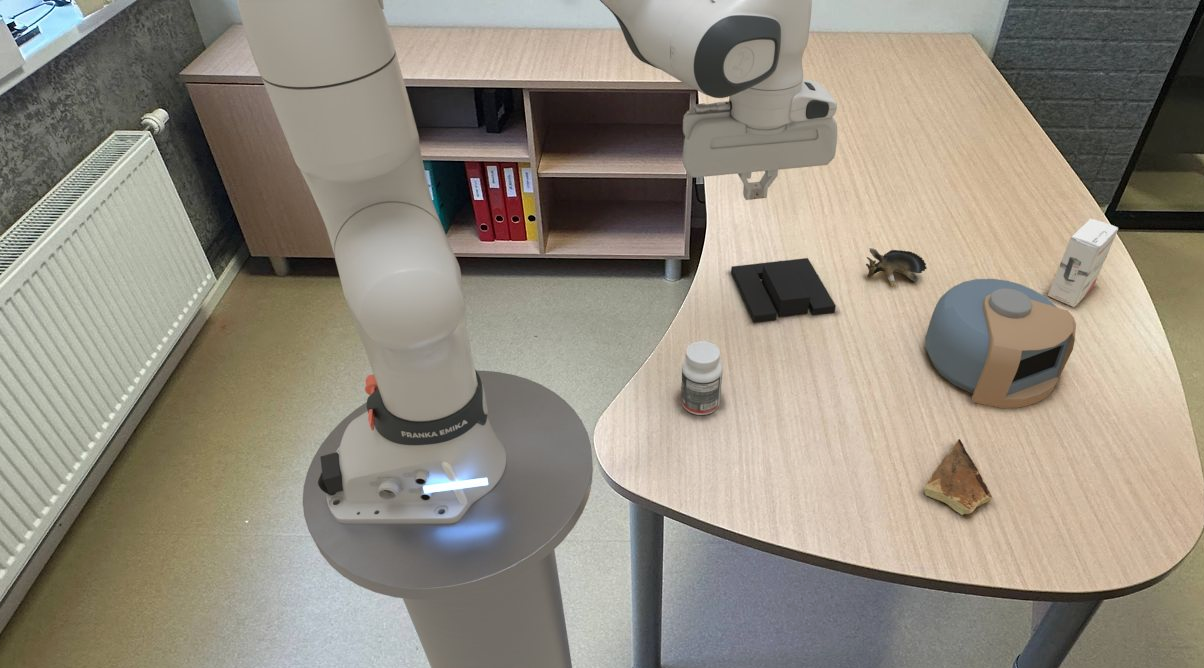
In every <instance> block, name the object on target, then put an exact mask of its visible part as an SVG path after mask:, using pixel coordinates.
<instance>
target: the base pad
mask: <svg viewBox="0 0 1204 668" xmlns="http://www.w3.org/2000/svg"><path fill="white" fill-rule="evenodd" d="M788 262H791V263H792V265H793V267H794V268H795V270H796V272H797V274H798V276H799V277H800V279H801V281H802V283H803V285H804V286H805V288H806V290H807V292H808V293H809V295H810V302H809V308H808V311H809V312H810V314H811V316H819V315H827V314H834V313H835V312H836V306H837V305H836V304H835V302H834V300H833V298H832V297H831V295H830V293H829V292H828V290H827V288H826V287H825V285H824V283H823V282H822V280H821V278H820V277H819V274H818V273H817V271H816V269H815V268H814V266H813V265H812V262H811V261H810V259H809V258H808V257H804V258H796V259H786V260H785V259H784V260H777V261H768V262H759V263H751V264H750V263H749V264H742V265H733V266H731V267H730V268H731V269H730V275H731V277H732V279H733V281H734V283H735V286H736V288H737V290H738V292H739V294H740V297H741V299H742V301H743V303H744V305H745V307H746V310H747V312H748V314H749V316H750V319H751V321H752V323H754V324H756V323H762V322H771V321H776V320H777V316H778V314H777V312H776V310H775V308H774V306H773V304H772V302H771V300H770V298H769V296H768V294H767V292H766V290H765V288H764V286H763V284H762V282H761V280H762V271H763V265H770V264H779V263H788Z"/></svg>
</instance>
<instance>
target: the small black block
mask: <svg viewBox="0 0 1204 668" xmlns="http://www.w3.org/2000/svg"><path fill="white" fill-rule="evenodd" d="M761 282H762V284H763V286H764V288H765V290H766V292H767V294H768V296H769V298H770V300H771V302H772V304H773V306H774V308H775V310H776V312H777V316H778V318H783V317H785V318H786V317H791V316H800V315H807V314H808V313H809V302H810V295H809V293H808V292H807V290H806V288H805V286H804V285H803V283H802V281H801V279H800V277H799V276H798V274H797V272H796V270H795V268H794V267H793V265H792V263H791V262H788V263H779V264H770V265H763V271H762V280H761Z"/></svg>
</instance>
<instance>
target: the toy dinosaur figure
mask: <svg viewBox="0 0 1204 668" xmlns="http://www.w3.org/2000/svg"><path fill="white" fill-rule="evenodd" d="M869 253H870V254H871V256H872V257H873V258H874V259H875V260H873V259H871V258H870V257H868V256H867V257H866V259H867V260H868V262H869V264H868V263H865V266H866V267H867V269H868V273H867V276H866V278H869V279H870V278H872V277H874V276H875V274H878V273H881V272H883V273H884V274H883V275H885V277H886V278H887V279H888V281H889V284H890V288H893V286H894V284H895V277H894V273H898V274H901V275H903V276H905V277H906V278H908V279H910V280H911V281H912V282H917V281H918V280H919V278H918V276H917V275H916V274H921V273H923V272H925V270H927V269H928V267H927V263H926V262H925V260H924V259H923V257H921V256H920V255H918V254H917V253H915V252H913V251H909V250H901V249H899V250H898V249H890V250H889V251H887V252H886V253H884V255H883V254H880V253H879V251H878V250H877V249H875V248H872V247H870V248H869ZM877 261H878V262H877Z"/></svg>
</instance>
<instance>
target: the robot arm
mask: <svg viewBox="0 0 1204 668" xmlns="http://www.w3.org/2000/svg"><path fill="white" fill-rule="evenodd" d="M599 1H600V3H602V4H603V5H604V6H605V7H606V8H607V9H608V10H609V11H610V12H611V14H612V15H613V16H614V17H615V19H616V21H617V23H618V25H619V27H620V29H621V31H622V34H623V37H624V39H625V42H626V44H627V46H628V49H630V51H631V53H632V54H633V56H635V57H636V58H637V59H638V60H639V61H641V62H642V63H644V64H646V65H647V66H648V65H649V66H651V67H653V68H655V69H658V70H661V71H663V72H664V73H665V74H667V75H669V76H671V77H673V78H674V79H676V80H678V81H680V82H681V83H683V84H685V85H687V86H689V87H690V88H691V89H694V90H696V91H698V92H699V93H701V94H703V95H706V96H709V97H711V98H715V99H725V98H728V100H727V101H717V102H712V103H697V104H695V105H694V107H692V108H690V109H688V110H687V111H686V112H685V114H683V118H682V134H683V136H684V140H683V147H682V156H681V157H682V158H681V159H682V160H681V161H682V165H683V167H684V170H685V171H686V173H687V174H688V175H689V176H690V177H691V178H694V179H695V178H705V177H715V176H725V175H736V174H737V175H738V177H739V179H740V180H741V182H742V184H743V190H742V195H743V197H744V199H745V201H750V200H751V201H752V200H758V199H759V200H760V199H767V198H768V191H769V188H770V187H771V185H772V184H773V183H774V182H775V180H776V179H777V178H778V174H779V170H790V169H791V170H792V169H798V168H799V169H800V168H811V167H821V166H829V164H830V163H831V162H832V161H833V160H834V158H835V156H836V152H837V144H838V124H837V121H836V119H835V118H834V117H835V115H836V113H837V108H838V104H837V101H836V100H835V98H834V96H833V95H832V94H831V93H830V92H829V91H828V89H827V88H826V87H825V86H824V85H822V84H821V83H820V82H819V81H816V80H813V79H809V78H806V77H804V69H803V58H804V57H803V56H804V53H805V51H806V49H807V45H808V42H809V35H810V27H811V18H812V8H813V7H812V4H813V0H599ZM236 4H237V8H238V12H239V16H240V19H241V23H242V27H243V31H244V33H245V37H246V39H247V43H248V45H249V49H250V52H251V55H252V57H253V60H254V62H255V65H256V68H257V71H258V73H259V77H260V78H261V80H262V83H263V85H264V87H265V90H266V93H267V94H268V97H269V100H270V103H271V105H272V107H273V110H274V113H275V115H276V118H277V120H278V122H279V123H278V124H279V126H280V128H281V130H282V132H283V135H284V137H285V141H286V142H287V145H288V147H289V151H290V153H291V155H292V157H293V160H294V162H295V165H296V166H297V168H298V169H299V171H300V173H301V175H302V177H303V179H304V180H305V183H306V185H307V187H308V189H309V191H310V193H311V195H312V198H313V200H314V202H315V204H316V207H317V209H318V212H319V214H320V216H321V218H322V220H323V221H322V222H323V223H324V226H325V228H326V231H327V236H328V238H329V242H330V247H331V248H332V249H331V250H332V252H333V257H334V260H335V264H336V268H337V272H338V276H339V280H340V284H341V288H342V293H343V295H344V299H345V302H346V305H347V308H348V310H349V313H350V315H351V318H352V321H353V324H354V326H355V329H356V331H357V333H358V337H359V339H360V342H361V344H362V346H363V348H364V350H365V354H366V356H367V358H368V361H369V365H370V369H371V371H372V373H373V374H369V375H367V376H366V378H365V387H364V392H365V393H366V394H367V395H369V396H368V397H367V399H366V402H367V411H366V412H365V413H363V414H362V415H360V416H359V417H357V418H356V419H354V420H353V421H352V422H351V423H350V424H349V425H348V427H347V428H346V430H345V432H344V435H343V437H342V440H341V444H340V447H339V448H338V449H337V451H336V452H335V453H331V454H328V455H324V456H321V457H320V458H321V467H322V473H321V475H320V478H319V480H318V485H319V487H320V489H321V490H322V491H324V492H325V493H326V497H327V503H328V506H329V510H330V512H331V514H332V516H333V517H334V519H335V520H336V521H337V522H338V523H341V524H451V523H455V522H457V521H459V520H460V519H461V518H462V517H463V516H464V514H465V513H466V512H467V510H468V509H469V507H470V506H471V505H472V504H473V503H474V502H476V501H477V500H478V499H480V498H481V497H483V496H484V495H486V494H487V493H488V492H489V491H491V490H492V489H493V488H494V486H495V485H496V484H497V483H498V482H499V480H500V479H501V477H502V475H503V473H504V470H505V467H506V452H505V448H504V446H503V444H502V443H501V441H500V440H499V439H498V437H497V436H496V434H495V433H494V431H493V429H492V427H491V424H490V422H489V419H488V417H487V413H488V407H487V401H486V396H485V391H484V387H483V385H482V383H481V379H480V376H479V374H478V372H477V371H478V370H477V369H476V368H475V367H476V366H475V364H474V363H475V362H474V358H473V352H472V349H471V344H470V339H469V334H468V329H467V309H466V299H465V290H464V283H463V277H462V271H461V267H460V264H459V262H458V259H457V257H456V255H455V253H454V250H453V248H452V246H451V243H450V242H449V239H448V237H447V235H446V232H445V229H444V226H443V223H442V222H441V219H440V217H439V214H438V213H437V209H436V207H435V204H434V202H433V199H432V195H431V192H430V188H429V182H428V178H427V174H426V171H425V165H424V161H423V156H422V150H421V145H420V136H419V132H418V128H417V123H416V120H415V117H414V113H413V109H412V106H411V101H410V97H409V94H408V91H407V88H406V84H405V80H404V77H403V74H402V73H403V72H402V70H401V66H400V63H399V59H398V54H397V51H396V47H395V44H394V41H393V37H392V34H391V30H390V26H389V24H388V21H387V18H386V16H385V12H384V9H385V7H384V6H385V5H384V0H236ZM758 172H764V174H763V175H762V176H761V178H760V180H759V181H753V182H749V181H748V180H749V179H752V173H758ZM337 503H339V504H338V505H336V504H337ZM442 512H444V514H440V513H442Z"/></svg>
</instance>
